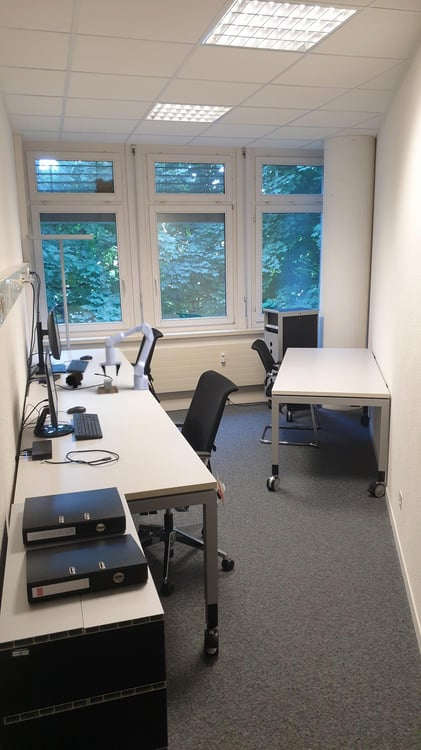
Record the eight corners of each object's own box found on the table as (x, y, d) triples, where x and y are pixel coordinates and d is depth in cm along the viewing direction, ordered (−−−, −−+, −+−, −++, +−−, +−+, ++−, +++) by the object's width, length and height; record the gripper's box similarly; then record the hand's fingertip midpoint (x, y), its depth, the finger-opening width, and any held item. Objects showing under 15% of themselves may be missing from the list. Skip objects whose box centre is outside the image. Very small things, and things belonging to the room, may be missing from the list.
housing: (111, 389, 354) (111, 381, 353) (104, 389, 353) (104, 381, 352) (110, 386, 363) (110, 378, 361) (104, 386, 361) (103, 379, 360)
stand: (116, 388, 366) (116, 385, 365) (118, 392, 354) (118, 389, 354) (98, 390, 363) (98, 386, 362) (99, 394, 351) (99, 390, 351)
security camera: (85, 384, 379) (84, 370, 377) (76, 390, 361) (75, 376, 359) (75, 384, 380) (74, 370, 378) (66, 390, 362) (65, 376, 360)
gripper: (120, 354, 364) (121, 374, 367) (98, 355, 360) (99, 375, 363) (121, 356, 357) (122, 376, 360) (99, 357, 353) (100, 378, 356)
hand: (111, 376), depth 361 cm, fingers open, 7 cm apart
